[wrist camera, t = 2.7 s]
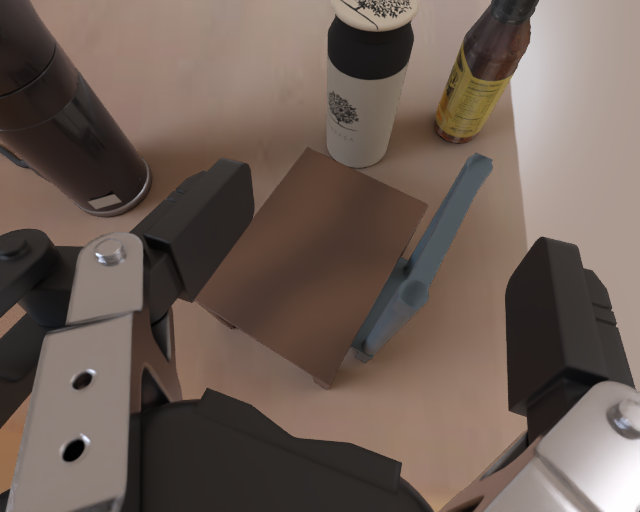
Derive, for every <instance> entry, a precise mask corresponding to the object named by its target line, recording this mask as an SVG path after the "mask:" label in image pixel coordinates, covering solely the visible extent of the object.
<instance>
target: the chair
mask: <svg viewBox="0 0 640 512" xmlns="http://www.w3.org/2000/svg"><path fill="white" fill-rule="evenodd" d="M492 168H493V166H492V159H490V158H487V157H485V156H483V155H480V154H478V153H475V154H474V155H473V156H471V157H469V158H468V159H467V161H466V163H465V165H464V166H463V168H462V170H461V171H460V173H459V175H458V177H457V178H456V180H455V182H454V183H453V185H452V187H451V189H450V190H449V192H448V194H447V195H446V197H445V199H444V200H443V202H442V204H441V206H440V207H439V209H438V211H437V212H436V214H435V216H434V218H433V219H432V221H431V223H430V224H429V226H428V228H427V230H426V231H425V233H424V235H423V236H422V238H421V240H420V242H419V243H418V245H417V247H416V248H415V250H414V252H413V254H412V255H411V257H410V259H409V260H408V261H407V260H405V259H403V258H401V257H400V258H399V260H398V262H397V263H396V265H395V267H394V269H393V271H392V272H391V274H390V276H389V278H388V280H387V281H386V283H385V285H384V287H383V289H382V290H381V292H380V294H379V296H378V298H377V299H376V301H375V303H374V305H373V307H372V308H371V310H370V312H369V314H368V316H367V317H366V319H365V321H364V323H363V325H362V326H361V328H360V330H359V332H358V334H357V335H356V337H355V339H354V341H353V343H352V345H351V346H350V348H352V349H354V350H355V351H357V352H358V353H357V354H356V356H355V357H356V358H357V359H359V360H361V361H362V362H364V363H366V362H367V361H368V360H369V359H372V358H373V356H374V355H375V354H376V353H377V352H378V351H379V350H380V349H381V348H382V347H383V346H384V345H385V344H386V343H387V342H388V341H389V340H390V339H391V338H392V337H393V336H394V335H395V334H396V333H397V332H398V331H399V330H400V329H401V328H402V327H403V326H404V325H405V324H406V323H407V322H408V321H409V320H410V319H411V318H412V317H413V316H414V315H415V314H416V313H417V312H418V311H419V310H420V309H421V308H422V307H423V306H424V305H425V304H426V302H427V301H428V298H429V292H428V289H429V287H430V285H431V283H432V281H433V279H434V277H435V275H436V273H437V271H438V269H439V267H440V265H441V263H442V261H443V259H444V257H445V255H446V253H447V251H448V249H449V247H450V245H451V243H452V241H453V239H454V237H455V235H456V233H457V231H458V229H459V227H460V225H461V223H462V221H463V219H464V217H465V215H466V213H467V211H468V209H469V207H470V205H471V203H472V201H473V199H474V197H475V195H476V193H477V191H478V189H479V188H480V187H481V185H482V184H483V182H484V181H485V180H486V178H487V177H488V176H489V174H490V173H491V171H492Z"/></svg>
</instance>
